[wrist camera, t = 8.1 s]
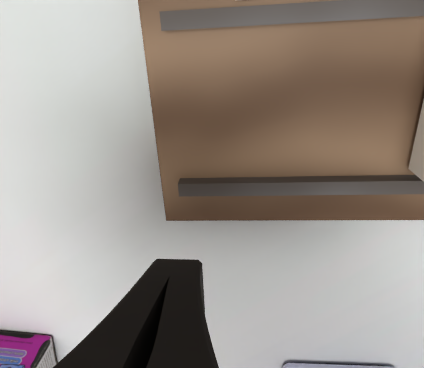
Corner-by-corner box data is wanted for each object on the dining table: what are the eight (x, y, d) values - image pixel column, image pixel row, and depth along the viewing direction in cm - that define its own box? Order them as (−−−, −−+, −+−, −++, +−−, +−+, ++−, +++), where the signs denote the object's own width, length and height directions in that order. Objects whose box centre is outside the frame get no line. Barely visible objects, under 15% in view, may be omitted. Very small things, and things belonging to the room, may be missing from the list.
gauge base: (621, 204, 17) (670, 227, 15) (171, 207, 20) (163, 227, 18) (780, -88, 12) (886, -110, 10) (142, -39, 14) (126, -49, 12)
